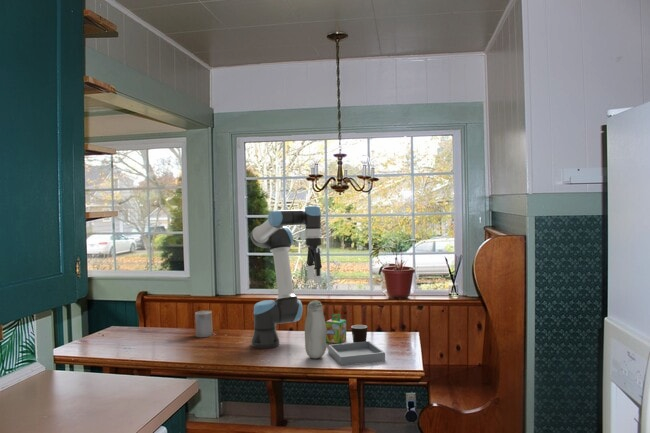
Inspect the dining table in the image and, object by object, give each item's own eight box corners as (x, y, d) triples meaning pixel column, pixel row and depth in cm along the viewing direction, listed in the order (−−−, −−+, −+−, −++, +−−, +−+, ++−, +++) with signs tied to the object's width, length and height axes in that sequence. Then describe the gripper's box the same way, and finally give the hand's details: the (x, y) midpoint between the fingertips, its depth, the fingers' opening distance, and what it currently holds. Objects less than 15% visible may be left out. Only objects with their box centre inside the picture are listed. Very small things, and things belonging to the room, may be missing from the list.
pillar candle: (205, 332, 315) (203, 307, 315) (216, 334, 310) (215, 309, 309) (192, 336, 308) (191, 310, 307) (203, 338, 302) (202, 312, 301)
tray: (328, 352, 267) (328, 345, 267) (369, 348, 273) (369, 341, 273) (341, 365, 246) (340, 357, 246) (385, 360, 251) (385, 352, 251)
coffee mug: (366, 348, 274) (366, 328, 274) (350, 347, 276) (350, 328, 276) (369, 342, 286) (369, 323, 285) (353, 341, 287) (353, 323, 287)
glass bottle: (322, 361, 253) (321, 303, 252) (302, 359, 256) (301, 302, 255) (329, 355, 262) (327, 299, 261) (309, 354, 265) (308, 298, 265)
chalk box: (325, 342, 286) (324, 315, 286) (331, 338, 295) (330, 312, 294) (341, 344, 283) (340, 316, 283) (347, 340, 291) (346, 313, 291)
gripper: (327, 238, 246) (328, 283, 247) (314, 235, 271) (315, 277, 271) (311, 239, 245) (313, 284, 245) (300, 236, 269) (301, 277, 269)
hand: (314, 280), depth 258 cm, fingers open, 13 cm apart
